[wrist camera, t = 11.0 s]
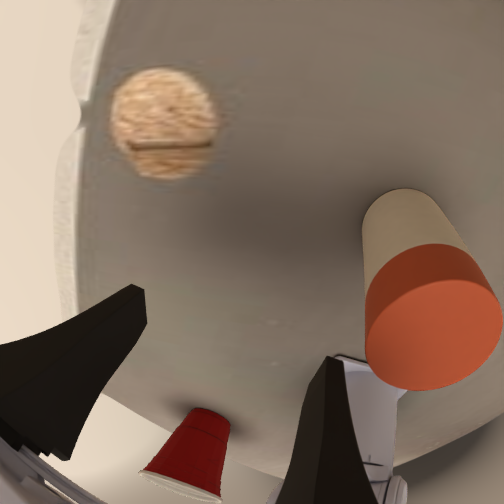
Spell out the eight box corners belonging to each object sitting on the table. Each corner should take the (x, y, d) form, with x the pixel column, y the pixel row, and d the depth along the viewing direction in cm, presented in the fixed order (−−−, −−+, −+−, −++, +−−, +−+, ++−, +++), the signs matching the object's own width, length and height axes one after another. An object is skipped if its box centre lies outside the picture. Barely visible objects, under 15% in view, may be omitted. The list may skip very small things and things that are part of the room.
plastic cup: (235, 443, 41) (207, 508, 32) (170, 412, 42) (136, 476, 32) (263, 424, 35) (232, 508, 25) (184, 387, 35) (140, 468, 25)
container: (379, 175, 16) (408, 257, 8) (457, 207, 15) (528, 305, 7) (349, 253, 19) (341, 374, 11) (422, 279, 18) (450, 400, 10)
